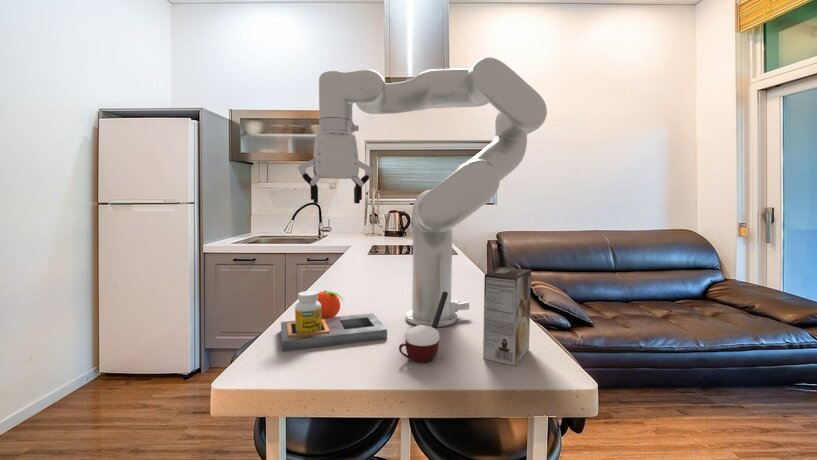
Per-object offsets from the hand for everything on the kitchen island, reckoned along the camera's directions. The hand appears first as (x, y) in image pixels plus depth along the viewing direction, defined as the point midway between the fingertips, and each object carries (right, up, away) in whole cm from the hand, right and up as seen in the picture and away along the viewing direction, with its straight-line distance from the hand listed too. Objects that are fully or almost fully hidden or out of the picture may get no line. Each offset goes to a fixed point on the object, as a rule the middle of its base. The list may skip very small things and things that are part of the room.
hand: (336, 203), depth 89 cm
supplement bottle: (-4, -29, -9) cm, 31 cm away
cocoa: (+20, -30, -19) cm, 41 cm away
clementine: (-3, -28, +4) cm, 29 cm away
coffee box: (+36, -30, -17) cm, 50 cm away
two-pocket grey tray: (0, -29, -7) cm, 30 cm away
